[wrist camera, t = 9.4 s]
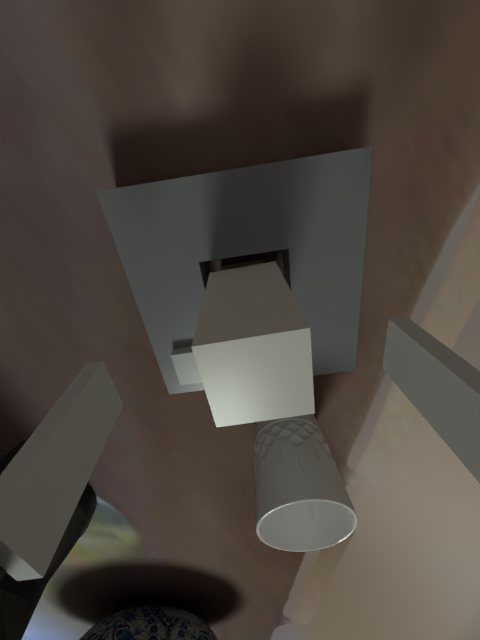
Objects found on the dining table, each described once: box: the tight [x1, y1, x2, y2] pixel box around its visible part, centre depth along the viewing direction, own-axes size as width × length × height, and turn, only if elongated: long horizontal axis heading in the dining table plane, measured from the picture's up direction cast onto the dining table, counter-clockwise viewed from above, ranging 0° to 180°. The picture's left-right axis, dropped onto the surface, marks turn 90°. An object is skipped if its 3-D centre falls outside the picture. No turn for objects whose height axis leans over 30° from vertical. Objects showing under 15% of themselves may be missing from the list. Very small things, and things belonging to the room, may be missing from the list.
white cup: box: [254, 414, 358, 552], centre depth 25 cm, size 8×8×10 cm
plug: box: [191, 259, 315, 427], centre depth 16 cm, size 4×4×12 cm
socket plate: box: [96, 146, 373, 394], centre depth 20 cm, size 16×16×4 cm
